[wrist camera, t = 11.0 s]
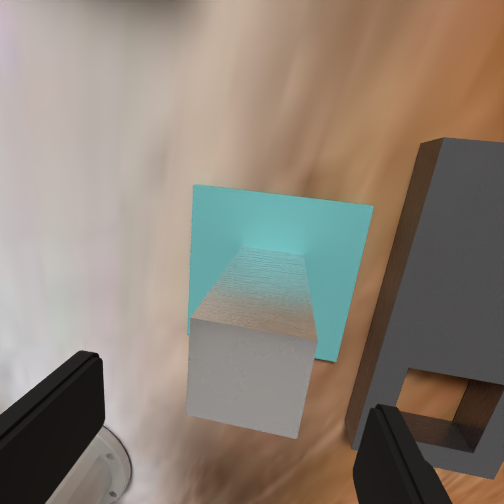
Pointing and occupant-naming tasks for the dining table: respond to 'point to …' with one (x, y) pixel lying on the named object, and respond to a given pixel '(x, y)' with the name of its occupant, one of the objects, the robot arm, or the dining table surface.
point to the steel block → (253, 344)
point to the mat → (282, 247)
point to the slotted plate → (444, 306)
